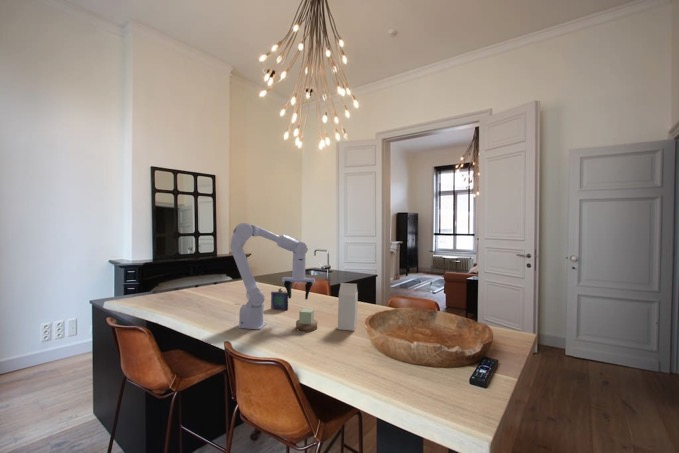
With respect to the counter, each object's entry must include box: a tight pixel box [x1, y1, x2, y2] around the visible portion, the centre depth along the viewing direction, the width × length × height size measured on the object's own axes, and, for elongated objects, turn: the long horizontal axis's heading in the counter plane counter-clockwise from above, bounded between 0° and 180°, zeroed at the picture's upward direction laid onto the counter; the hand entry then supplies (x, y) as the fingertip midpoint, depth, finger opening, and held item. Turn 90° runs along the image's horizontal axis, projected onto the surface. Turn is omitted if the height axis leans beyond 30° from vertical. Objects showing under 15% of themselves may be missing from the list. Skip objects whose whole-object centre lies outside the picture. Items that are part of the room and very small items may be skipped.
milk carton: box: [337, 282, 359, 332], centre depth 132 cm, size 7×7×19 cm
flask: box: [270, 287, 289, 312], centre depth 158 cm, size 9×3×11 cm, turn 76°
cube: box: [298, 308, 315, 324], centre depth 131 cm, size 5×5×5 cm
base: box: [295, 319, 318, 332], centre depth 131 cm, size 9×9×2 cm
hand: (298, 298), depth 139 cm, fingers open, 7 cm apart
